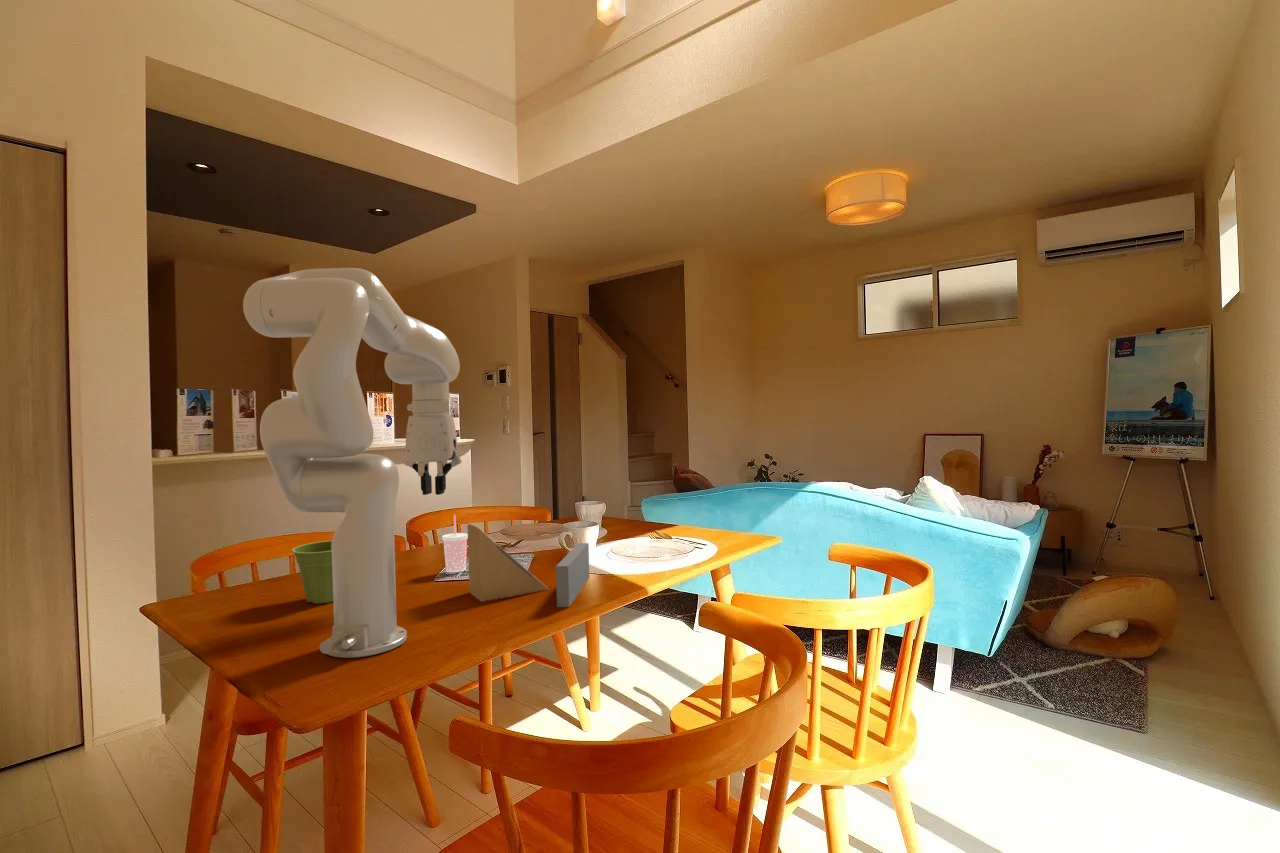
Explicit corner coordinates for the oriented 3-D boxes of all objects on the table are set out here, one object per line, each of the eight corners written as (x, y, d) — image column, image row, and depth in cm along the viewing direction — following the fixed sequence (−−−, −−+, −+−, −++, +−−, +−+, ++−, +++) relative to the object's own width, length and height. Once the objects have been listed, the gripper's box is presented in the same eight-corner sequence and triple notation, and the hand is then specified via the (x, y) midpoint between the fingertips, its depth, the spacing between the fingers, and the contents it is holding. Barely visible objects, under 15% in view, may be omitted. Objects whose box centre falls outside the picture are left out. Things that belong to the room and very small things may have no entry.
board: (569, 607, 122) (568, 566, 121) (557, 607, 122) (556, 566, 122) (589, 577, 143) (588, 543, 143) (579, 577, 144) (578, 543, 144)
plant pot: (287, 599, 131) (285, 546, 131) (346, 588, 139) (345, 538, 139) (301, 612, 122) (299, 554, 122) (364, 599, 130) (362, 545, 130)
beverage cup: (441, 570, 153) (439, 514, 153) (466, 567, 156) (465, 511, 156) (444, 576, 148) (443, 517, 147) (471, 573, 150) (469, 515, 150)
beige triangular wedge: (551, 590, 134) (549, 520, 134) (481, 602, 126) (479, 529, 126) (536, 581, 142) (534, 515, 142) (469, 593, 134) (467, 523, 134)
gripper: (387, 409, 132) (389, 496, 132) (460, 408, 130) (462, 496, 131) (404, 410, 139) (406, 492, 140) (473, 408, 138) (475, 491, 138)
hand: (433, 493), depth 135 cm, fingers closed
